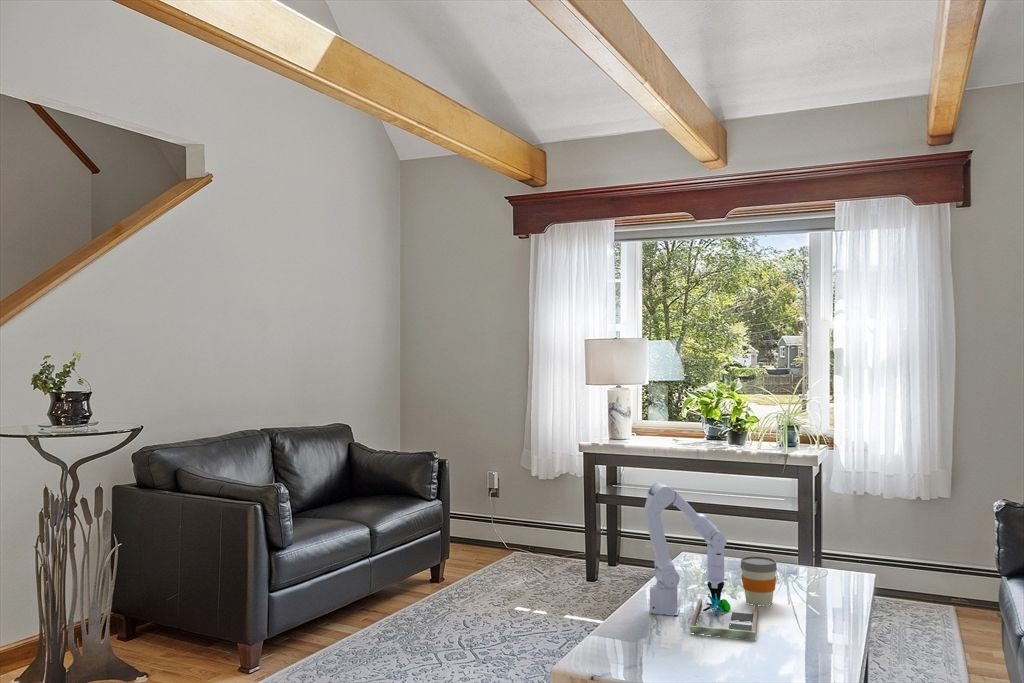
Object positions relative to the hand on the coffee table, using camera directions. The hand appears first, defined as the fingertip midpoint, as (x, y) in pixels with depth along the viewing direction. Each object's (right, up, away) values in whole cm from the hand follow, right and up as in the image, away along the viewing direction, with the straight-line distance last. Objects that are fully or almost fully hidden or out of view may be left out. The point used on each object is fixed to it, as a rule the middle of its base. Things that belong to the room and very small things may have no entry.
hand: (716, 603), depth 289 cm
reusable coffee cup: (+17, -2, +7) cm, 19 cm away
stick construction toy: (-1, -2, -4) cm, 4 cm away
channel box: (0, -2, -14) cm, 14 cm away
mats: (+4, -2, -15) cm, 16 cm away
